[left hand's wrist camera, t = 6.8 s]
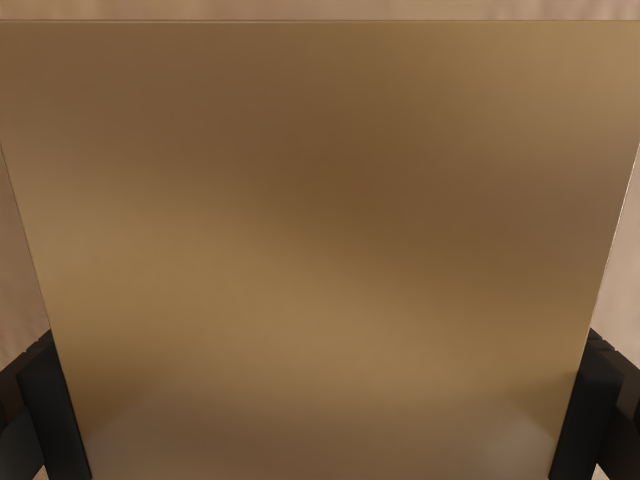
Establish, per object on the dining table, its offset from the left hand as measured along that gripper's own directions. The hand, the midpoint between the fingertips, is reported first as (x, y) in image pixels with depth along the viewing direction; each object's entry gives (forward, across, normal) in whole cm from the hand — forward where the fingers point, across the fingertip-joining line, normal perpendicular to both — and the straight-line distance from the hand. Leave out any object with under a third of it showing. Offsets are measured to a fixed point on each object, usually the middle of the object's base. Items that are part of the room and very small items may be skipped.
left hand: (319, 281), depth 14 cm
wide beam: (0, 0, -22) cm, 22 cm away
